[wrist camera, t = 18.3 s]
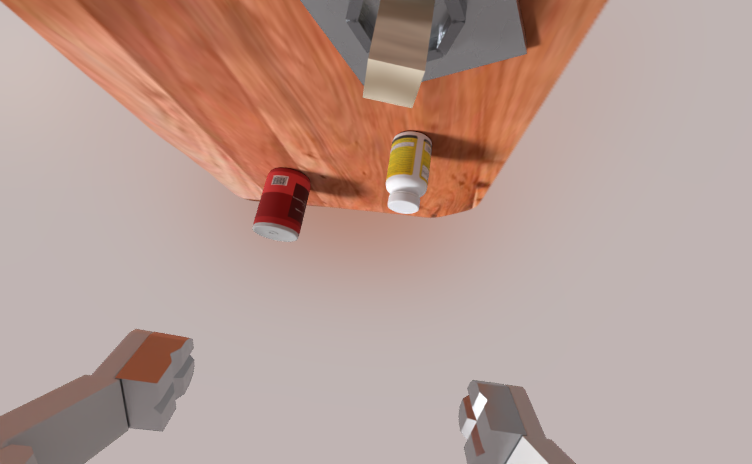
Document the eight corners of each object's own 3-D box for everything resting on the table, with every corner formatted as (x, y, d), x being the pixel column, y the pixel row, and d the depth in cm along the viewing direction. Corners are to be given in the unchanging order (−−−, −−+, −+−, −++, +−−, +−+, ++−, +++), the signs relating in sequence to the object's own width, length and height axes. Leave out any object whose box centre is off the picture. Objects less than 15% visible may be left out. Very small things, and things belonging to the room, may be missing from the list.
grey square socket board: (269, -58, 27) (260, -34, 27) (481, -190, 19) (479, -161, 18) (372, 86, 40) (368, 106, 39) (527, 43, 32) (526, 67, 31)
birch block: (385, -24, 27) (368, 58, 25) (436, -11, 28) (424, 71, 25) (378, 22, 31) (362, 97, 28) (423, 32, 31) (412, 108, 29)
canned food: (261, 174, 66) (244, 230, 62) (281, 161, 60) (264, 222, 56) (297, 191, 71) (284, 244, 67) (319, 180, 65) (306, 238, 61)
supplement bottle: (386, 144, 50) (375, 207, 47) (404, 124, 46) (393, 193, 42) (419, 157, 52) (411, 219, 49) (440, 139, 47) (432, 207, 44)
